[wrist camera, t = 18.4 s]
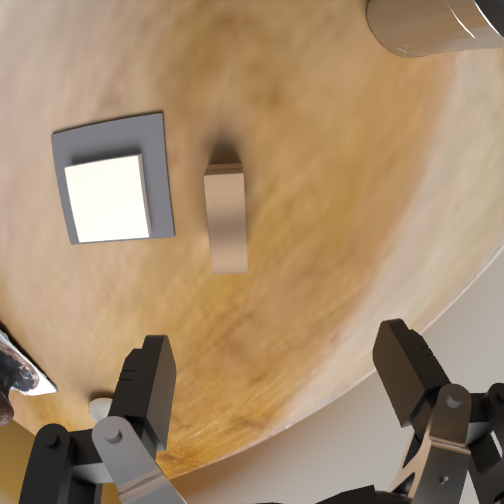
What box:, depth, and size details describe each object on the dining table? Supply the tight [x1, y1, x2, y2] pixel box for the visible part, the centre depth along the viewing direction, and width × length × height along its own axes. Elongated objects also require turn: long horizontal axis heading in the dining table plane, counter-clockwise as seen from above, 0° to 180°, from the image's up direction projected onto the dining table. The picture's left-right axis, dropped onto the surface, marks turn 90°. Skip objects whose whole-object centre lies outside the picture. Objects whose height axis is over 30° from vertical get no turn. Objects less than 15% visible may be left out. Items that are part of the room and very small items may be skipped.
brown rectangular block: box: [204, 163, 248, 275], centre depth 31 cm, size 10×4×6 cm, turn 2°
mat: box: [51, 113, 175, 245], centre depth 31 cm, size 14×14×1 cm
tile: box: [65, 154, 152, 242], centre depth 31 cm, size 2×9×9 cm
